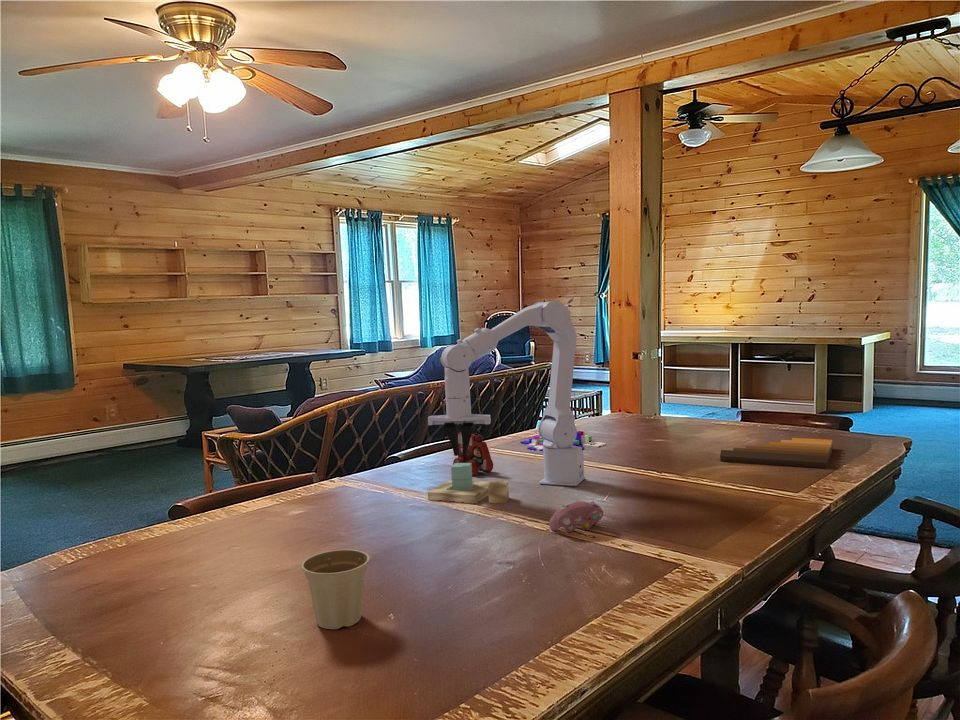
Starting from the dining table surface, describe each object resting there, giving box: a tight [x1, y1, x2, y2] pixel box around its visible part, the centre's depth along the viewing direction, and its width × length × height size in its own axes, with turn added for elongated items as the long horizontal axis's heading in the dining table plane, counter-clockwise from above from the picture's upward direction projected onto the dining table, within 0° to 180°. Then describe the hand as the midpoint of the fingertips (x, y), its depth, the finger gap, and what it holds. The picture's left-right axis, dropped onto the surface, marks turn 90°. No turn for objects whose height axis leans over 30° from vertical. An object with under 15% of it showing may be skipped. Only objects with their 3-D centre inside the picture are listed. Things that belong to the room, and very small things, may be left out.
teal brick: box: [450, 463, 473, 491], centre depth 159 cm, size 4×4×6 cm
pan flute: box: [719, 437, 834, 469], centre depth 183 cm, size 25×3×25 cm
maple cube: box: [487, 480, 510, 504], centre depth 153 cm, size 4×4×4 cm
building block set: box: [519, 430, 607, 452], centre depth 211 cm, size 25×20×4 cm
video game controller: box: [548, 500, 604, 533], centre depth 130 cm, size 10×5×7 cm, turn 106°
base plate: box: [427, 478, 490, 504], centre depth 159 cm, size 12×12×2 cm
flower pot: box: [301, 549, 371, 630], centre depth 96 cm, size 9×9×9 cm
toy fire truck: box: [452, 431, 494, 477], centre depth 181 cm, size 7×12×10 cm, turn 40°
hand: (461, 455), depth 158 cm, fingers closed
